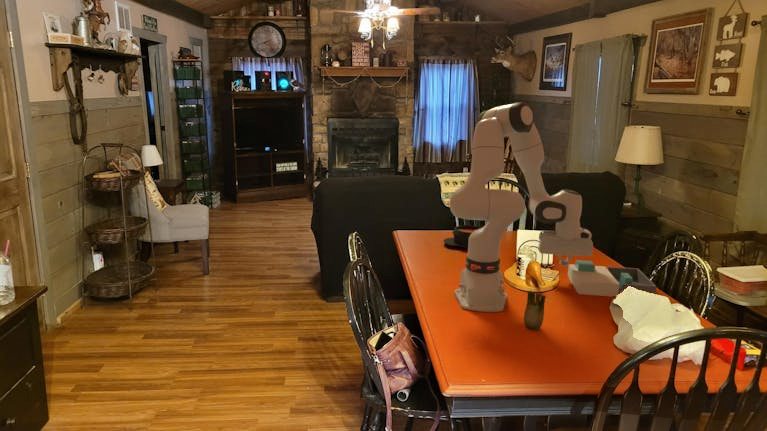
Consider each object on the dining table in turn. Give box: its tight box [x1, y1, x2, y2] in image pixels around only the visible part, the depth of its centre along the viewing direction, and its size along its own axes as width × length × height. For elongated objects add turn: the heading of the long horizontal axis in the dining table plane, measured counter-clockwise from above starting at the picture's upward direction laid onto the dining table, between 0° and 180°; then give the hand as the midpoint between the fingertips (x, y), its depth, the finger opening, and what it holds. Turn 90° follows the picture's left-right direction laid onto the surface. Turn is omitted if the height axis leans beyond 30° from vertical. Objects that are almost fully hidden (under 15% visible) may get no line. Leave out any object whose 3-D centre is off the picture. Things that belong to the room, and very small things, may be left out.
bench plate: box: [567, 263, 620, 297], centre depth 209 cm, size 20×14×5 cm
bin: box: [607, 266, 657, 295], centre depth 207 cm, size 20×12×5 cm, turn 173°
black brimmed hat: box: [443, 224, 483, 250], centre depth 258 cm, size 25×19×8 cm
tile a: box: [619, 273, 633, 288], centre depth 202 cm, size 6×6×2 cm
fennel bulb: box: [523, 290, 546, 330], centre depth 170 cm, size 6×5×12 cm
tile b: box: [574, 259, 596, 272], centre depth 213 cm, size 6×6×2 cm
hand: (563, 265), depth 214 cm, fingers closed
